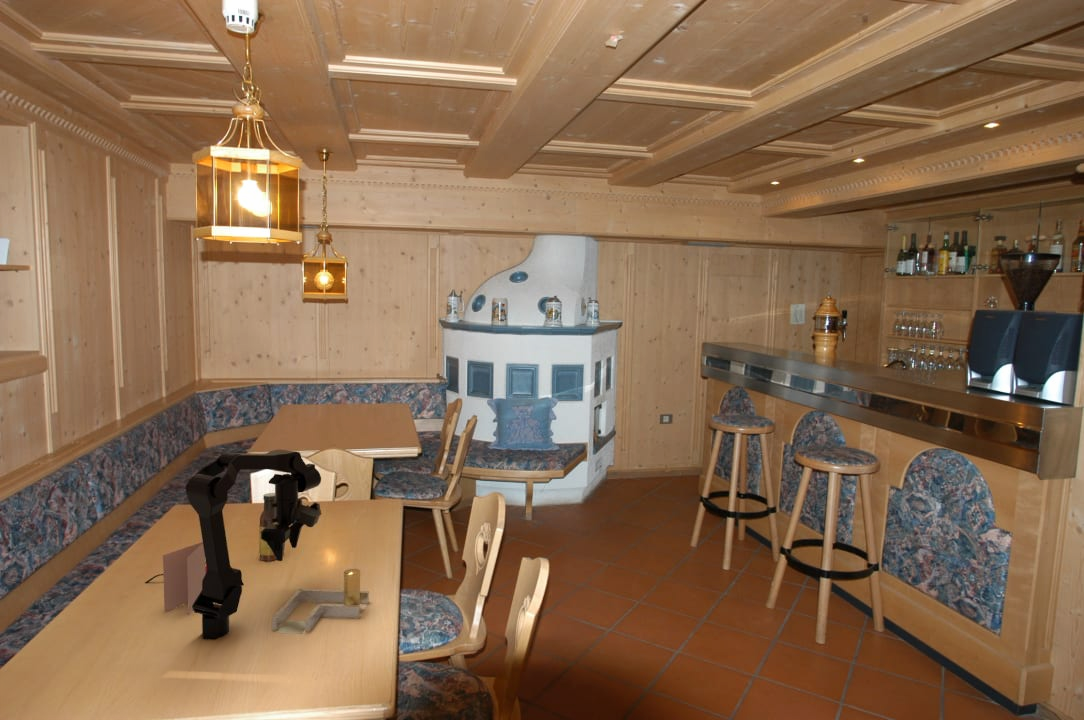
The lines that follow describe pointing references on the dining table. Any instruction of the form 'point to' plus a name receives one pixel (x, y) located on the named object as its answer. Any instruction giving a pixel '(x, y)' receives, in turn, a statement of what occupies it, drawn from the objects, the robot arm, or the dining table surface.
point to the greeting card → (183, 576)
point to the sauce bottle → (265, 520)
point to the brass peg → (352, 587)
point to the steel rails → (319, 606)
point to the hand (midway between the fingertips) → (287, 554)
